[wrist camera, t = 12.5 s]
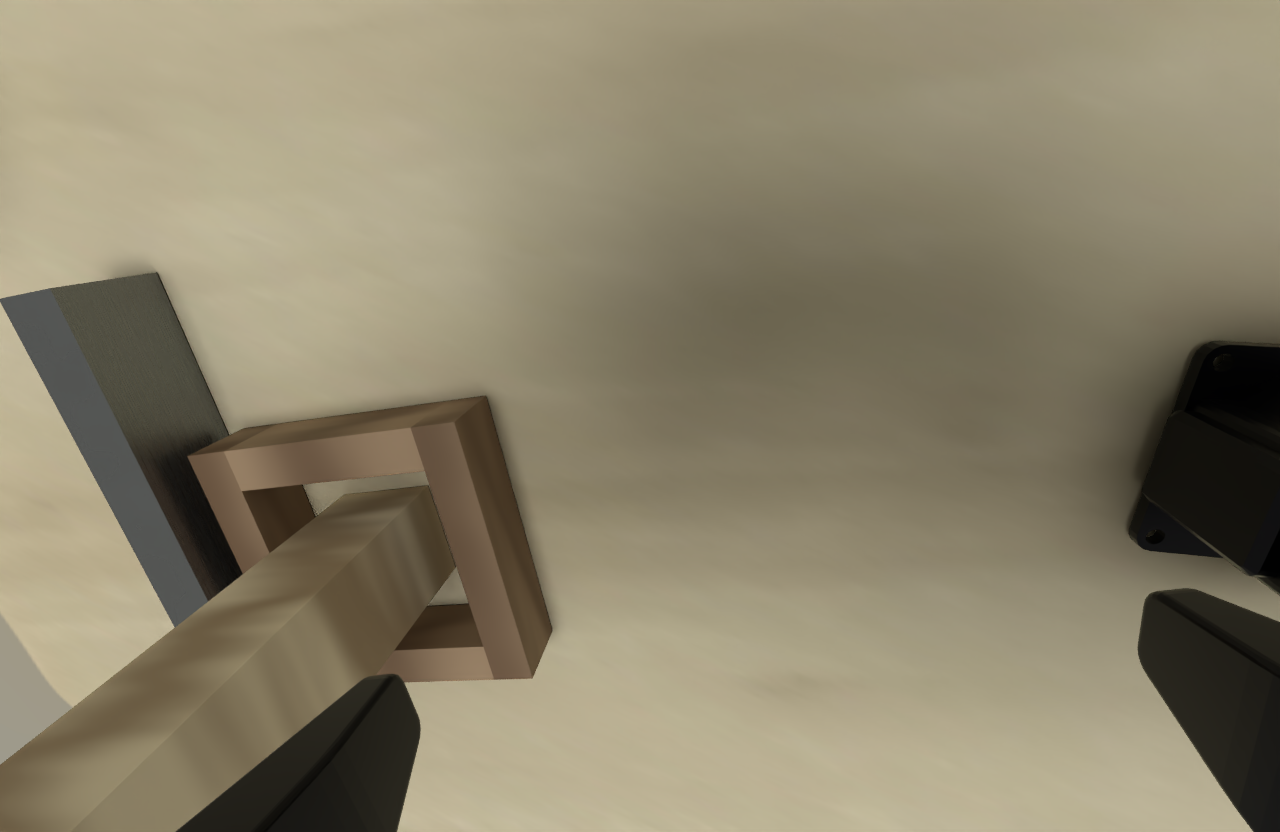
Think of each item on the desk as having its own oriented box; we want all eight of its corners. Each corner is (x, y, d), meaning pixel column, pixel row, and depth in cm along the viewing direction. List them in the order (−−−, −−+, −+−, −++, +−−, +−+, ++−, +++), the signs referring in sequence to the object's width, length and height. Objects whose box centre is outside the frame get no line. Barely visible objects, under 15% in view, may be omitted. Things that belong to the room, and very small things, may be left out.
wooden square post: (427, 485, 22) (69, 833, 10) (455, 567, 24) (162, 964, 12) (344, 494, 23) (-82, 829, 11) (375, 573, 24) (20, 952, 12)
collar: (485, 395, 21) (454, 422, 18) (552, 630, 24) (532, 678, 22) (243, 428, 23) (187, 455, 20) (335, 641, 26) (295, 685, 24)
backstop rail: (156, 272, 21) (50, 288, 18) (365, 744, 28) (317, 817, 25) (110, 281, 21) (-2, 299, 18) (328, 745, 28) (276, 816, 25)
